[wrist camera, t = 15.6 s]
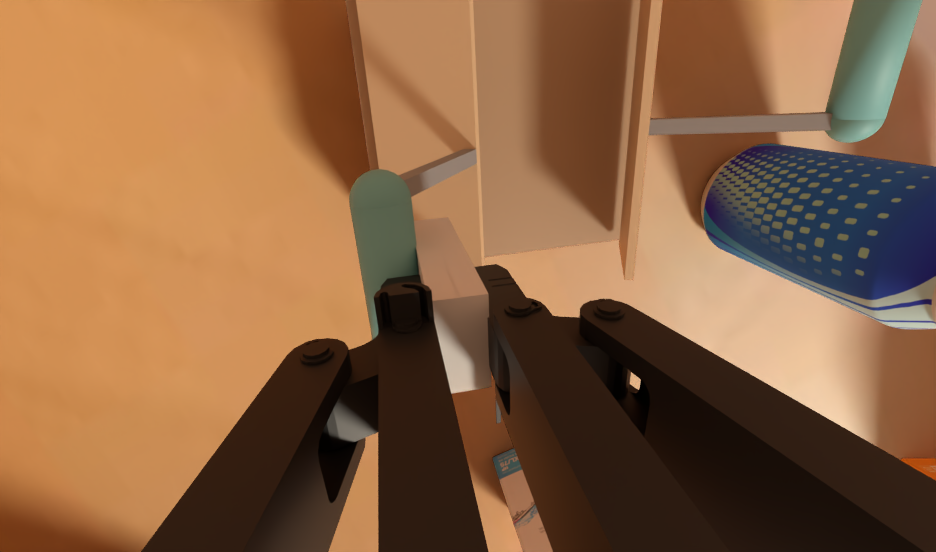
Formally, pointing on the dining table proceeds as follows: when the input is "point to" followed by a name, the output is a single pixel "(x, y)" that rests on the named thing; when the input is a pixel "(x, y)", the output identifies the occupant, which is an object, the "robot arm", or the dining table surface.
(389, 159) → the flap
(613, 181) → the carton
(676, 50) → the dining table surface
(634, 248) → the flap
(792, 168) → the beer can
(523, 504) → the ink box
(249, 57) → the dining table surface
